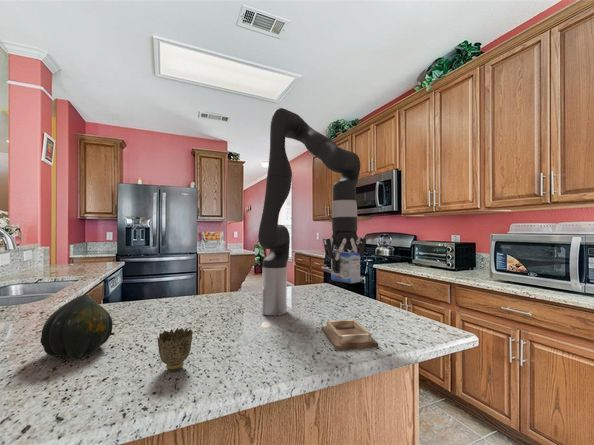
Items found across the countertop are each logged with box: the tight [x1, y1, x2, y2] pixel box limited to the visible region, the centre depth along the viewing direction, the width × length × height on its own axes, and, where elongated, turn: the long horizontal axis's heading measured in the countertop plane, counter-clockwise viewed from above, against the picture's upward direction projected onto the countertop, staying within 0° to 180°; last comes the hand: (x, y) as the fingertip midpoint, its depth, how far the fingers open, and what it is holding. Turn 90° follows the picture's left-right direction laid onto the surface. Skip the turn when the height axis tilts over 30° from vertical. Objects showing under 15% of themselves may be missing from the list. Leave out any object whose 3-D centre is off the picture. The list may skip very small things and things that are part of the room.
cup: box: [156, 327, 194, 372], centre depth 65 cm, size 8×7×8 cm
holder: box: [320, 319, 379, 351], centre depth 83 cm, size 12×15×3 cm
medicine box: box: [330, 251, 361, 284], centre depth 85 cm, size 8×4×9 cm, turn 40°
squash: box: [40, 294, 114, 360], centre depth 73 cm, size 14×15×15 cm
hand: (345, 271), depth 85 cm, fingers closed on medicine box, 5 cm apart
